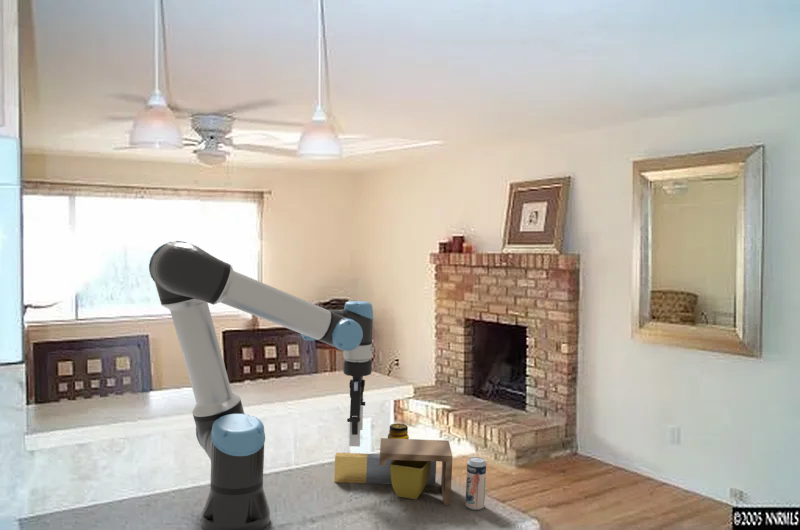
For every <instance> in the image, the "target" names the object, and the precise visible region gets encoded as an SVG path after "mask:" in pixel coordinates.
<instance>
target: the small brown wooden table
mask: <svg viewBox="0 0 800 530" xmlns="http://www.w3.org/2000/svg"><path fill="white" fill-rule="evenodd" d="M379 445H380V446H379V447H380V448H379V454H380V463H379V465H386V460H413V461H436V462H441V476H440V478H441V479H440V480H441V482H440V489H441V493H442V498H443V499H442V500H443V505H444V506H451V499H452V498H451V496H452V476H453V473H452V472H453V452H452V448H451V444H450V440H444V439H442V440H441V439H439V440H438V439H420V438H419V439H416V438H415V439H414V438H413V439H412V438H411V439H410V438H409V439H391V438H388V437H385V438H384V437H382V438H380V444H379Z"/></svg>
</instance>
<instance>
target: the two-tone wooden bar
mask: <svg viewBox="0 0 800 530" xmlns="http://www.w3.org/2000/svg"><path fill="white" fill-rule="evenodd" d="M393 461H394V460H386V465H379V463H380V453H360V452H356V453H355V452H335V456H334V474H333V475H334V476H333V477H334V478H333V481H334V483H350V484H352V483H353V484H379V485H381V484H382V485H383V484H384V485H392V482H391V471H390V464H391V463H392V462H393ZM436 478H437V461H431V466H430V472H429V477H428V481H427V483H426V486H436Z"/></svg>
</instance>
